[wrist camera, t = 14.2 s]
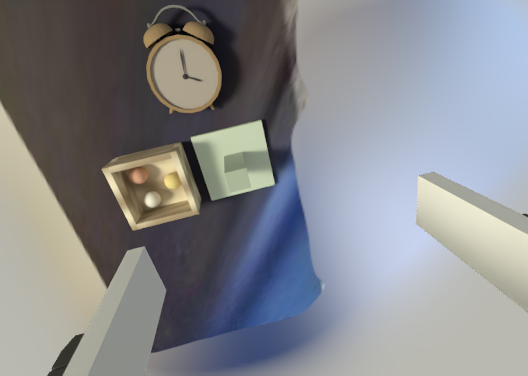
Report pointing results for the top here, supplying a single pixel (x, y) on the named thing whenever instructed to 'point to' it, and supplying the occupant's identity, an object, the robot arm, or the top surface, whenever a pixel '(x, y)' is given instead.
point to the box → (154, 186)
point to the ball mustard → (172, 180)
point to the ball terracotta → (138, 175)
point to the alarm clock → (182, 65)
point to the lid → (234, 159)
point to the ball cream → (152, 199)
